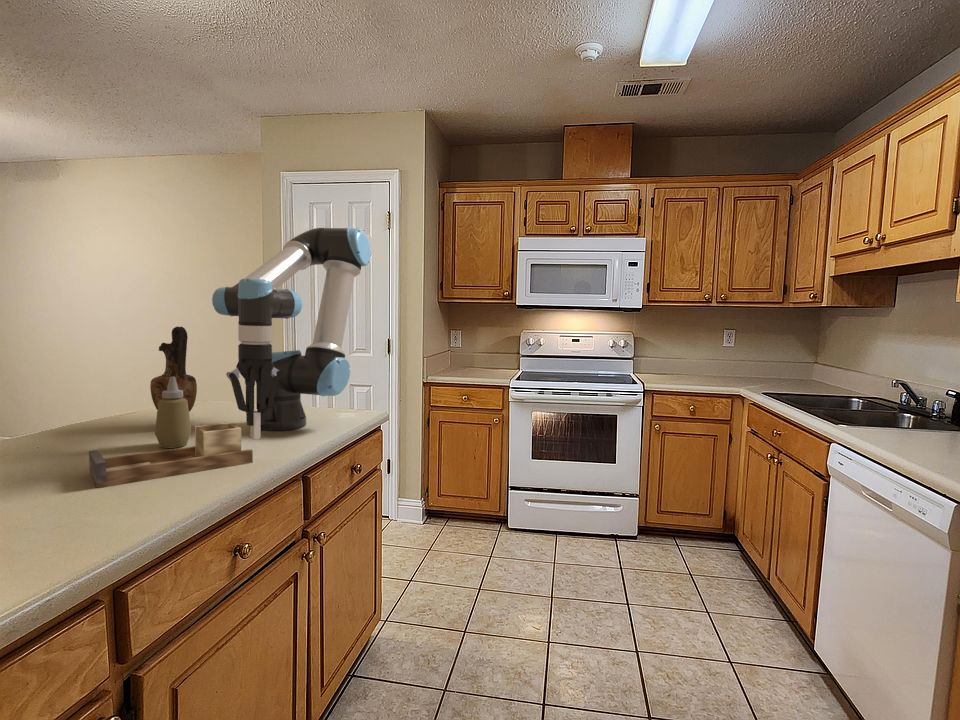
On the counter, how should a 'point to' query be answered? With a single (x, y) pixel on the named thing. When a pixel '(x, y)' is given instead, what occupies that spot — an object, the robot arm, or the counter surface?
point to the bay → (158, 465)
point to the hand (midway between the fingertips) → (255, 437)
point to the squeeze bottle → (172, 418)
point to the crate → (217, 439)
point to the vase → (175, 369)
